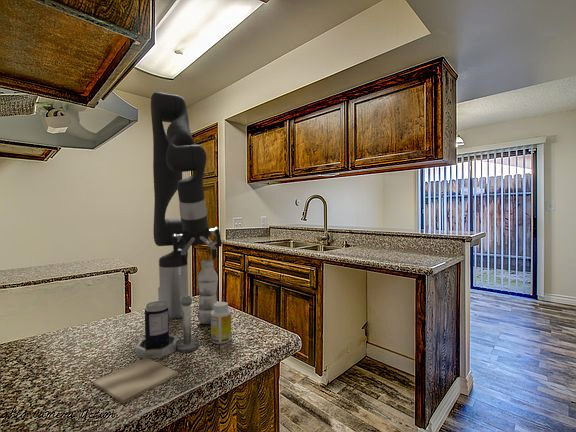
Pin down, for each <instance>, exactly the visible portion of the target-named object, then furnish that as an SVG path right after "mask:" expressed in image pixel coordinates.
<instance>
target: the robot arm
mask: <svg viewBox="0 0 576 432" xmlns="http://www.w3.org/2000/svg"><path fill="white" fill-rule="evenodd" d="M188 113H189V112H188V105H187V103H186V100H185V99H184V97H183V96H180V95H177V94H172V93H165V92H159V91H155V92H153V93H152V95H151V97H150V115H151V126H152V127H151V128H152V141H153V145H152V150H153V153H152V155H153V157H152V167H153V168H152V169H153V176H152V177H153V192H154V205H153V207H154V210H153V240H154V243H155V245H156V246H157V247H168V246H169V247H170V246H171V247H172V248H173V250H172V251H171V252H169V253H167V254H164V255H163V256H161V257H159V259H158V274H159V277H158V279H159V281H158V282H159V286H158V289H157V291H158V292H157V297H158V298H157V299H158V300H157V301H165V302H166V303H167V306H168V314H169V320H172V319H173V320H174V319H179V318H183V305H182V304H181V299H182V298H183V297H184V296H189V272H188V270H189V267H188V263H189V262H188V256H189V255H188V254H189V249H190V248H191V247H196V246H202V245H203V246H204V244H205V245H206V246H208V247H209V248H210V251H211V252H210V253H211V260H215V259H216V258H217V256H218V255H217V253H218V252H217V249H218V247H222V237H221V232H220V229H219V227H218V226H214V228H210V227H209V221H208V210H207V205H206V201H205V194H204V193H205V192H204V176H205V175H204V174H205V169H206V165H207V158H208V157H207V153H206V151H205V149H204V147H202V145H200V144H195V140H194V138H193V135H192V132H191V129H190V122H189V114H188ZM164 123H170V124H169V125H168V127H167V129H166V130H165V128H164ZM184 172H193V173H192V174H191V175H190V176H187V177H185V178H183V173H184ZM176 193H178V194H177V196H178V201H179V203H178V204H179V216H180V218H178V217H177V218H166V213H167V210H168V209H167V208H168V205H169V203H170V202H171V200H172V198H173V197H174V196H175V194H176ZM211 234H212V235H213V236H214V237H215V241H213V240H211V238H210V236H211Z"/></svg>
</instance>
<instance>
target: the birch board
mask: <svg viewBox="0 0 576 432" xmlns="http://www.w3.org/2000/svg"><path fill="white" fill-rule="evenodd" d="M176 376H178V371H176V370H173V369H172V368H169V367H167V366H165V365H163V364H161V363H158V362H156V361H154V360H152V359H151V358H149V359H148V358H145V359H144V358H142V359H140V360H138V361H136V362H134V363H131V364H128V365H127V366H124V367H122V368H120V369H118V370H115V371H113V372H111V373H109V374H107V375H104V376H102V377H99V378H96V379H95V380H93V381H92V384H93V385H94V386H95V387H97V388H98V389H100V390H101V391H103V392H105V393H107V394H108V395H109V396H111V397H113V398H114V399H116V400H117V401H119V402H120V403H121V404H124V405H125V404H126V403H127V402H129V401H131V400H134V399H135V398H136V397H138V396H140V395H142V394H144V393H146V392H147V391H150V390H151V389H154V388H156V387H157V386H159V385H161V384H163V383H165V382H166V381H168V380H170V379H173V378H174V377H176Z"/></svg>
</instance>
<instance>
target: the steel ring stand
mask: <svg viewBox="0 0 576 432" xmlns="http://www.w3.org/2000/svg"><path fill="white" fill-rule="evenodd" d="M192 303H193V298H192V296H190V295H188V296H184V297H183V298H182V299H181V304H182V305H183V317H182V328H183V330H182V331H183V332H182V334H183V335H182V338H183V339H180V340H179V336H176V335H173V334H170V333H169V345H167V346H164V347H162V348H155V349H146V347H145V338H142V339H139V340H138V343H137V344H136V345H135V355H136V356H138V357H140V358H142V359H145V358H148V359H159V358H163V357H166V356H169V355H170V354H172V353H174V352H176V351H177V352H181V353H186V352H192V351H194V350H197V349H198V348H199V347H200V339H198V338H193V337H192V313H191V311H192V310H191V308H192V306H191V305H192Z"/></svg>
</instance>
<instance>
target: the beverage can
mask: <svg viewBox="0 0 576 432" xmlns="http://www.w3.org/2000/svg"><path fill="white" fill-rule="evenodd" d="M169 320H170V319H169V314H168V306H167V303H166V302H165V301H159V300H157V301H151V302H148V303H147V304H146V306H145V309H144V333H145V334H144V339H145V347H144V348H145V349H155V348H162V347H164V346H167V345H169V344H170V343H169V334H170V328H169V326H170V325H169V324H170V323H169V322H170V321H169Z"/></svg>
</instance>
